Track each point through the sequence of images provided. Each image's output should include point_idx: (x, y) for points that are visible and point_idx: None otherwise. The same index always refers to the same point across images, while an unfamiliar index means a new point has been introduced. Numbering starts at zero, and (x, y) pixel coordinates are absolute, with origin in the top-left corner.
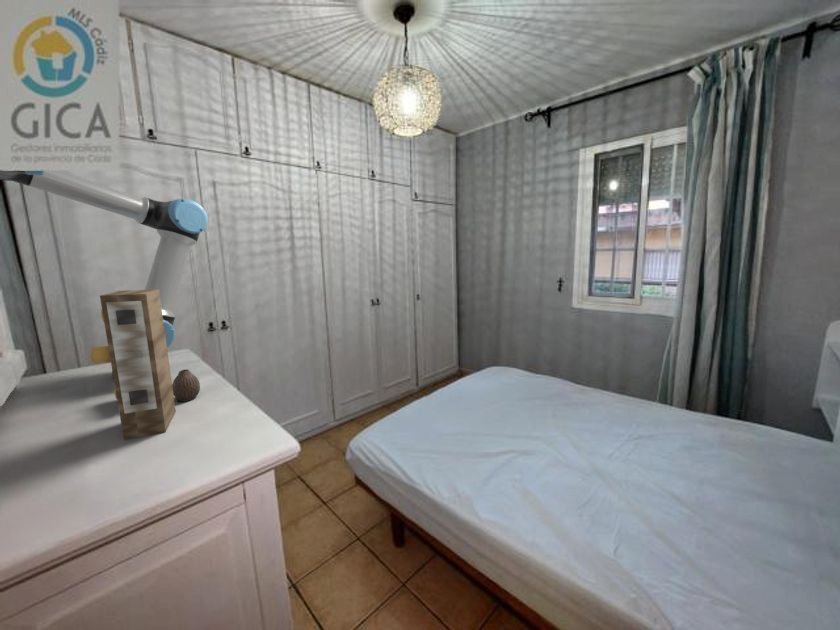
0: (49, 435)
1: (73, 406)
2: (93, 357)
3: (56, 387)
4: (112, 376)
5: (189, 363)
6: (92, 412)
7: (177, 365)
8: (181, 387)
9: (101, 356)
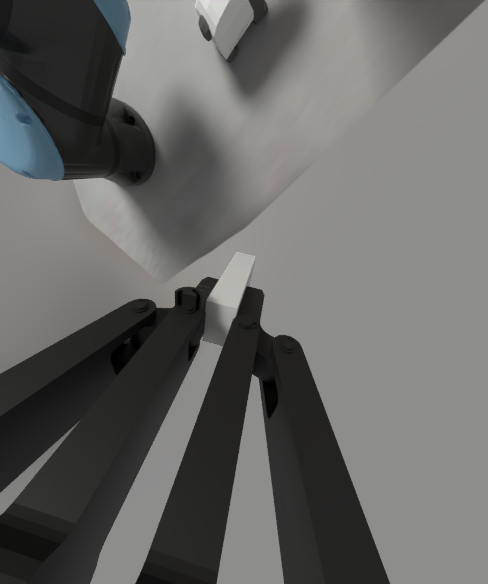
0: (350, 72)
1: (247, 141)
2: None
3: (185, 230)
4: (148, 176)
5: None
6: (275, 77)
7: None
8: None
9: None
